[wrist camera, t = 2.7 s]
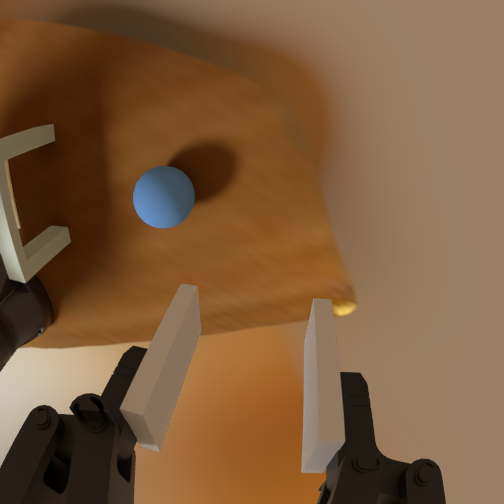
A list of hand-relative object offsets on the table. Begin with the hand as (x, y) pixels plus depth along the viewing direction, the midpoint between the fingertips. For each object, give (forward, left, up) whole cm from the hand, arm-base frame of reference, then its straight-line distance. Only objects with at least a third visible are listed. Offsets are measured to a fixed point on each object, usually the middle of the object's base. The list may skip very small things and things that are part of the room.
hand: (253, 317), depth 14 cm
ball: (0, +10, -14) cm, 17 cm away
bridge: (0, +26, -17) cm, 31 cm away
